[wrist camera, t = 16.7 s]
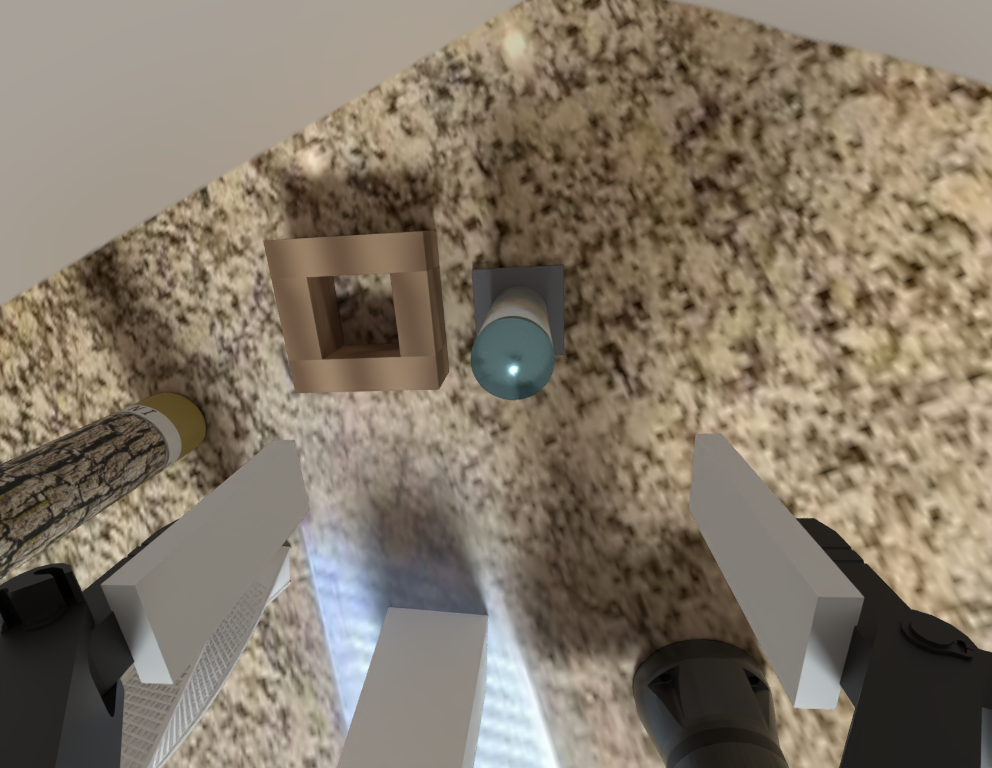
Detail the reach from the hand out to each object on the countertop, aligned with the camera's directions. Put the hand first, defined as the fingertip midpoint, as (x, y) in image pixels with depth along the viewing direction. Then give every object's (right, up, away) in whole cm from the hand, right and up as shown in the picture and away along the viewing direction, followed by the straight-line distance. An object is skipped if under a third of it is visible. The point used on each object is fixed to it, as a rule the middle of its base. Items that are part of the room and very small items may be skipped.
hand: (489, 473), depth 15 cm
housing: (-11, +10, +28) cm, 32 cm away
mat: (+2, +10, +27) cm, 29 cm away
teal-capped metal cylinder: (+2, +9, +26) cm, 28 cm away
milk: (-7, -29, +42) cm, 52 cm away
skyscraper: (-26, -18, +39) cm, 50 cm away
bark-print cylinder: (-33, -1, +34) cm, 48 cm away
